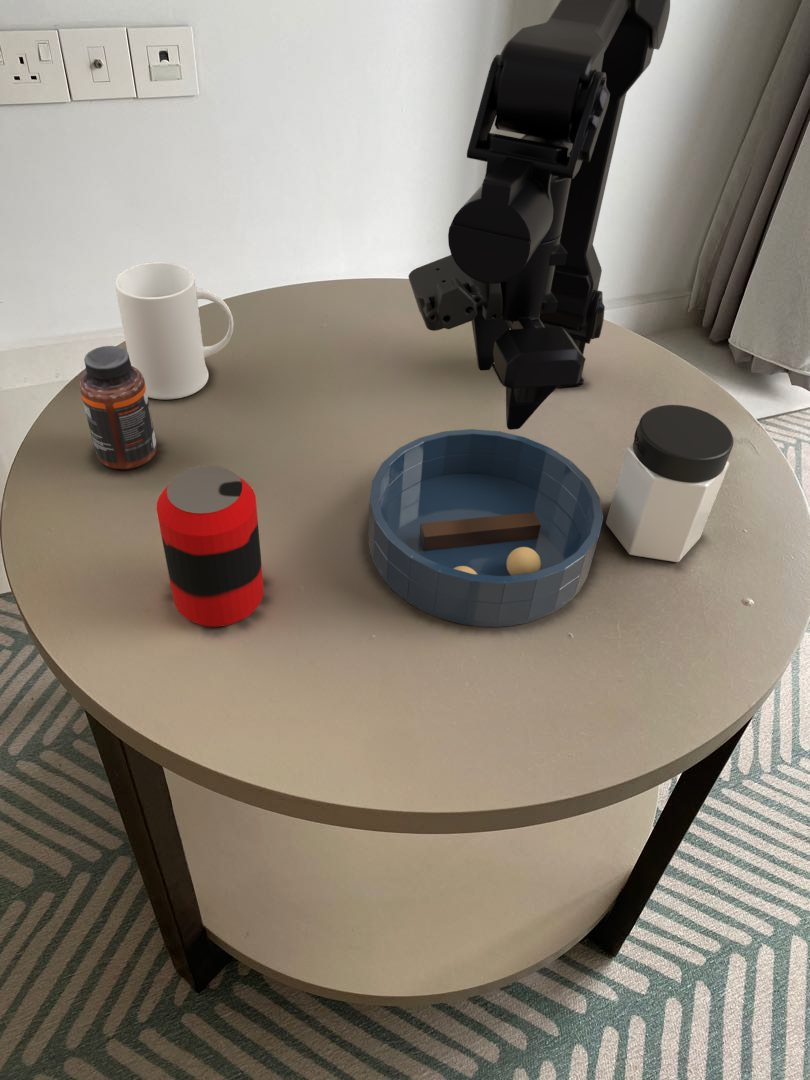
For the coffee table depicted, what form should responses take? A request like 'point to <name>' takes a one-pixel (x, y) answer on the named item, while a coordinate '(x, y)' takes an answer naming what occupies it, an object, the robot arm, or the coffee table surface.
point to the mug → (166, 327)
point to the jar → (669, 481)
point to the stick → (479, 531)
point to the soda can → (211, 545)
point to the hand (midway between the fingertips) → (498, 397)
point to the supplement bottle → (117, 409)
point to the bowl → (474, 492)
